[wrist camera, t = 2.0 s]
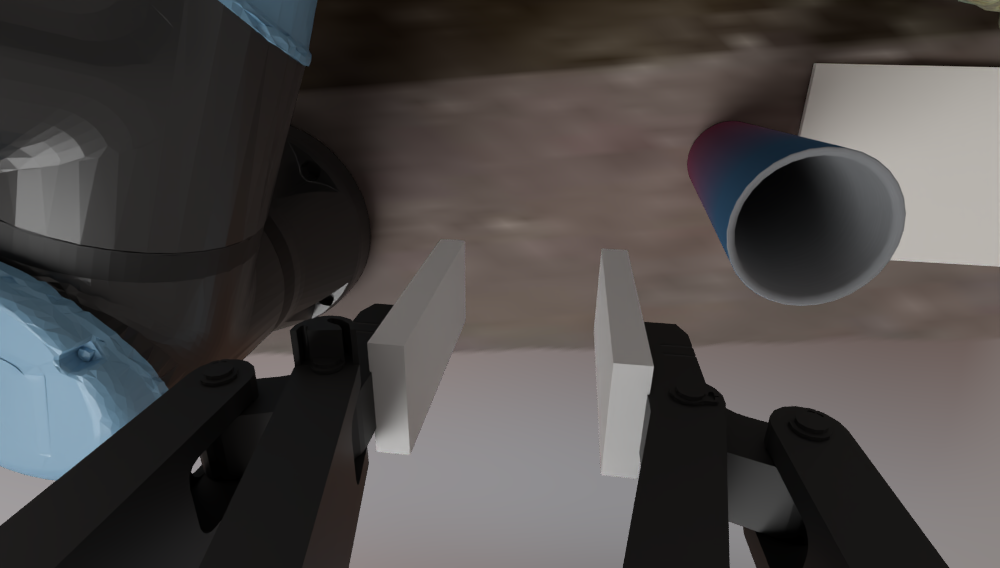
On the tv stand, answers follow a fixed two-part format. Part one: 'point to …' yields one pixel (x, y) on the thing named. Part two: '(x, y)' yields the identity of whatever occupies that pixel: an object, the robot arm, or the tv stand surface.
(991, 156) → the mat
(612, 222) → the tv stand surface
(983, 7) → the vessel
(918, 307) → the tv stand surface
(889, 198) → the cup
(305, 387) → the robot arm
